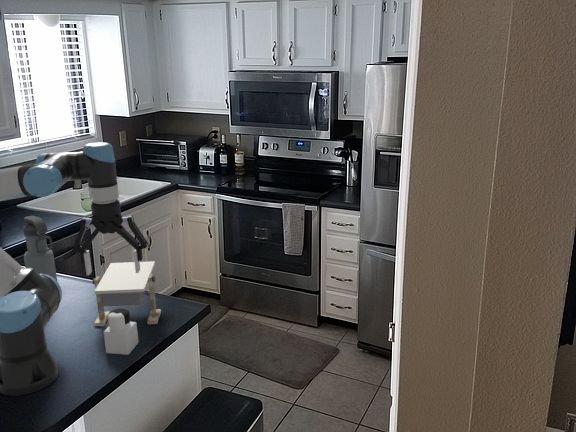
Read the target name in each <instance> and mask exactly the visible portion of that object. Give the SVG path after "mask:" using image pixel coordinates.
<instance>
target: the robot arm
mask: <svg viewBox="0 0 576 432" xmlns="http://www.w3.org/2000/svg"><path fill="white" fill-rule="evenodd" d="M113 147H114V146H113V145H112V144H111V143H108V142H99V141H98V142H89V143H86V144H84V145H83V150H82V151H68V152H67V151H65V152H61V151H60V152H54V151H51V152H45V153H40V154H38V155H37V157H36V160H35V163H31V164H25V165H21V166H19V165H18V166H14V167H7V168H2V169H1V168H0V202H3V201H8V200H13V199H19V198H20V199H21V198H25V197H33V196H34V197H37V198H46V197H49V196H50V195H53V194H55V193H56V192H57V191H58V190H59V189H60V188H61V187H62V186H63V185H65V184H66V183H67V182H69V181H87V186H88V193H89V200H90V201H91V202H90V208H91V218H90V217H89V218H88V217H87V216H83V217H82V218H81V220H80V229H79V230H78V233H77V235H76V238H75V240H74V242H73V245H72V248H71V249H72V251H73V252H78V253H79V254H80V261H81V264H84V266H85V272H86V276H90V275H91V274H92V271H93V269H92V263H91V256H90V250H89V249H88V247H89V245H91V243H92V241H94V239H95V238H96V237H97V235H98V234H99V233H101V234H103V235H105V234H115V233H116V234H117V235H120V236H121V237H122V238H123V239H124V240H125V242H127V243H128V244H129V245H131V247H132V248H134V250H133V259H134V261H133V262H135V270H136V273H139V271H140V262H142V260H143V257H144V255H143V249H144V250H145V249H147V248H148V245H149V242H148V241H147V239H146V238H145V235H143V233H142V231H141V230H140V228H139V227H138V225H137V224H136V222H135V218H134V215H132V214H129V216H123V215H122V212H121V211H122V209H121V202H120V201H121V200H120V199H119V198H120V196H119V195H120V194H119V193H120V192H119V184H118V177H117V168H116V167H117V166H116V158H115V153H114V148H113ZM123 222H124V223H125V224H126V225H127V226H128V227H129V229H130V230H131V232H132V234H133V235H132V234H131V233H130V232H129V231H128V230H126V228H125V226H123V225H122V224H123ZM90 224H91V225H93V226H94V228H95V229H94V230H93V232H91V234H90V235H89V237H88V238H87V240H85V242H84V244H83V245H81V243H82V241H83V238H84V235H85V233H86V231H87V228H88V227H89V225H90ZM87 249H88V250H87ZM62 299H63V291H62V287H61V285H60V283H59V282H58V280H57V281H56V280H55V279H54V278H53V277H51V276H49V275H47V274H38V273H37V272H36V271H35V270H34V269H32V268H25V267H23V266H22V265H21V264H20V263H18V261H16V259H14V258H13V257H12V256H11V255H10V254H9V253H7V252H6V251H5V250H4V249H3V248H2V247H1V246H0V394H2V395H5V396H11V397H14V396H15V397H16V396H25V395H30V394H34V393H36V392H39V391H41V390H43V389H45V388H46V387H48V386H50V385H51V384H52V383H53V382H55V381H56V379H57V378H58V377H59V368H58V363H57V362H56V359H55V358H54V356H53V355H52V353H51V352H50V350H49V348H48V345H47V339H46V332H45V327H46V326H47V324H48V323H49V321H50V320H51V318H52V317H53V315H54V314H55V313H56V312H57V311H58V309H59V307H60V306H61V305H60V304H61V301H62Z"/></svg>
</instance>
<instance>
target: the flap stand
mask: <svg viewBox="0 0 576 432" xmlns="http://www.w3.org/2000/svg"><path fill="white" fill-rule="evenodd" d="M91 281H92V285H94V288H95V289H96V288H97V286H98V284H99V282H100V281H101V276H99V275H98V276H95V278H92V279H91ZM155 282H156V275H154V274H153V273H151V274H150V275H149V277H148V289H149V301H150V310H151V311H150V312H149V313H150V314H149V315H148V318H147V325H158V323H159V319H160V316H161V315H162V310H161V308H158V309H157V302H156V294H155V285H154V284H155ZM95 289H94V290H95ZM95 295H96V296H95V297H96V302H97V303H96V305H97V311H98V316H97V317H96V319H95V321H94V324H93V325H94V327H95V326H100V327H105V326H106V324H107V322H108V314H109V312H111V311H109V310H107V311H105V306H102V305H101V298H100V294H95Z"/></svg>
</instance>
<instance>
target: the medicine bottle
mask: <svg viewBox="0 0 576 432" xmlns="http://www.w3.org/2000/svg"><path fill="white" fill-rule="evenodd" d="M107 322H108V326H107V328H106V329H104V330H103V340H104V347H105V348H104V349H105V353H106V354H111V355H112V354H113V355H125V356H126V355H127V356H128V355H130V354H131V352H132V351H133V350H135V347H136V346H137V345H138V344H139V333H138V324H137V322H136V321H131V315H130V311H129V310H128V309H126V308H116V309H112V310H111V311H110V312H109V314H108V320H107Z"/></svg>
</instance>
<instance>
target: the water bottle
mask: <svg viewBox="0 0 576 432" xmlns="http://www.w3.org/2000/svg"><path fill="white" fill-rule="evenodd" d="M23 219H24V221H25V225H24V226H23V227H22V230H23V234H24V235H23V236H24V237H25V244H26V250H27V251H25V253H24V254H23V261H24V266H25V267H24V268H32V269H34V270H35V271H36V272H37V273H38V274H47V275H49V276H51V277H53V278H54V279H55V280H56V281H57V282H58V277H57V276H58V275H57V269H56V264H55V257H54V252H53V250H52V249H53V248H54V246H53V238H52V237H51V236H49V235H47V233H48V228H47V227H48V226H47V224H46V222H45V221H44V219H42V218H41V217H39V216H35V215H28V216H25V217H24V218H23ZM47 239H48V240H49V247H48V243H47Z"/></svg>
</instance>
